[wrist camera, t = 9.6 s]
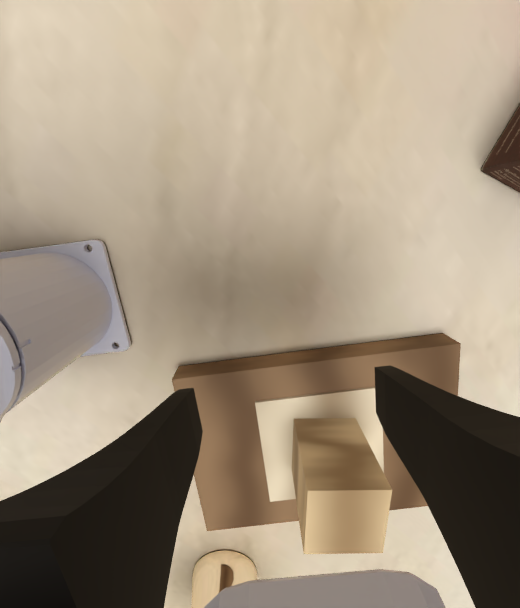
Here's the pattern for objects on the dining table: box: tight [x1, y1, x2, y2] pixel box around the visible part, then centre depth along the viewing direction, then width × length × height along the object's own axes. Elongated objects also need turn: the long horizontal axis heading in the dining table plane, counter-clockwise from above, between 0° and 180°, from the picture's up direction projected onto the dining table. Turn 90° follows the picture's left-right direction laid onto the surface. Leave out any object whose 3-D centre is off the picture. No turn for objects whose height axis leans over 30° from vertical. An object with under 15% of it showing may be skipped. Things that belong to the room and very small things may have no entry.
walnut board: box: [172, 333, 460, 531], centre depth 23 cm, size 20×14×2 cm
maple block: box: [292, 418, 392, 554], centre depth 19 cm, size 4×4×6 cm
